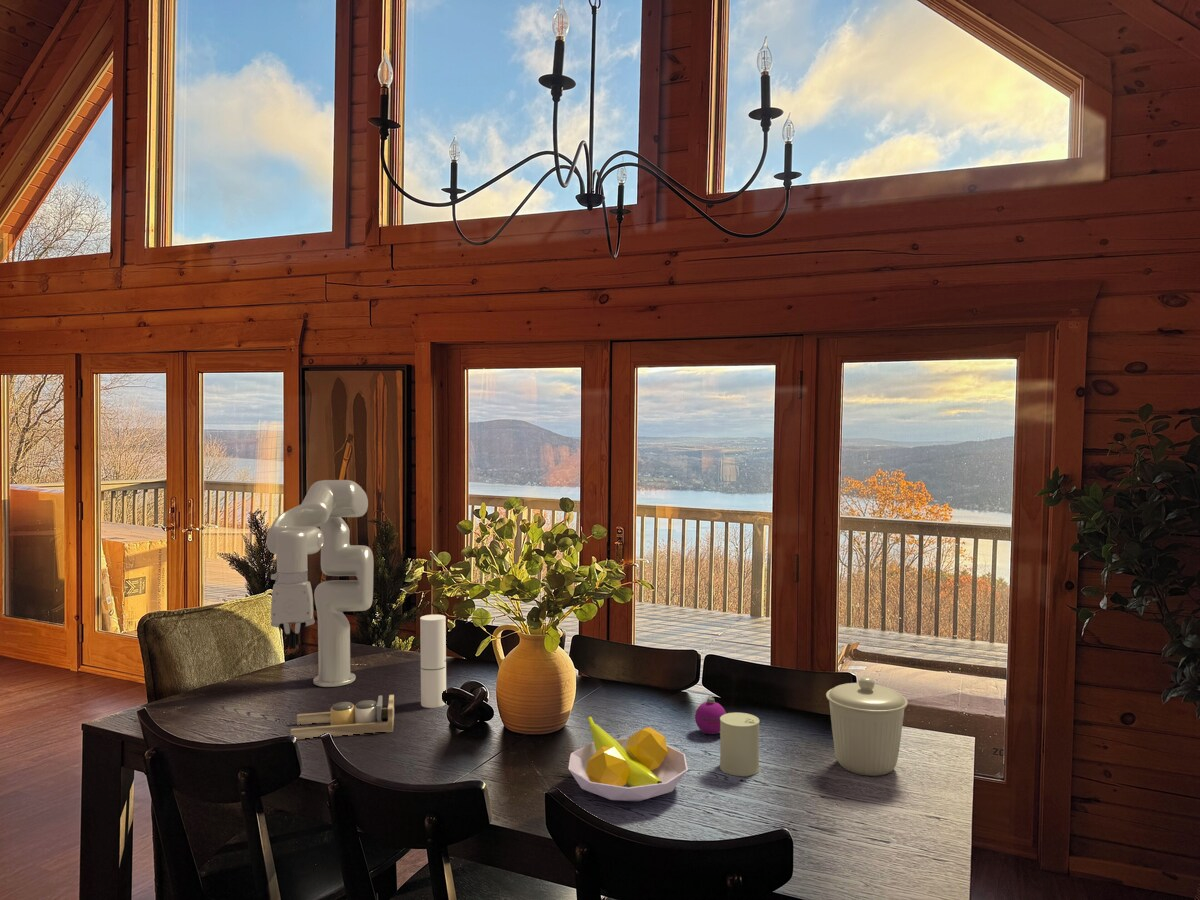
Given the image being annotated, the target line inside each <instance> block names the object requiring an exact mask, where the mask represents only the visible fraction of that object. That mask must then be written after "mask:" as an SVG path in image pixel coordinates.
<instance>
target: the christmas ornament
mask: <svg viewBox="0 0 1200 900" xmlns="http://www.w3.org/2000/svg"><path fill="white" fill-rule="evenodd" d="M706 699H707V700H706V702H705V701H704V702H702V703H701V704H700V705H699V706H698V707H697V709H696V711H695V715H694V720H695V721H694V722H695V723H696V725H697V727H698V729H699V730H700V731H701V732H702V733H704V734H708V735H716V734H720V717H721V716H722V715H724V714H727V711H726V710H725V708H724V707H723V706H722V705H721V704H720V703H719V702H716V701H715V698H714V695H712V694H710V695H708V698H706Z"/></svg>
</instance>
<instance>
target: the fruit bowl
mask: <svg viewBox="0 0 1200 900" xmlns="http://www.w3.org/2000/svg"><path fill="white" fill-rule="evenodd" d="M587 721H588V723H589V725H590V726H589V729H590V732H591V733H590V734H591V737H592V742H590V743H589V744H586V745H585V746H582V747H581V748H578V749H577V750H576V749H575V751H573V752H571V753H570V756H569V762H568V770H569V772H570V773H571V775H572V777H573V778H574V780H575V781H576V782H577V784H578V785H579V787H580V788H581V789H582V790H585V791H587V792H589V793H592V794H595V795H598V796H600V797H602V798H605V799H608V800H610V801H623V802H641V801H644V800H648V799H651V798H655V797H659V796H661V795H665V794H669V793H672V792H673V791H674V789H676V787H677V786H678V784H679V783H680V782H681V780H682V779H683V778H684V776H685V774H686V773H687V772H688V770H689V769H688V764H687V759H686V758H687V757H686V754H685V753H683V752H682V751H679V750H678V749H675V748H673V747H672V746H669V745H667V741H666V740H667V739H666V736H664V735H663V734H662V733H660V732H658V731H657V730H655V729H654V728H652V727H651V726H648V727H645V728H641V729H639V730H638V731H636V732H635V733H633V734H631V735H630V736H629V737H625V738H617V739H616V738H614V737H613V736H611V735H610V734H609V733H608V732H607V731H605V730H604V729H603V728H602V727H601V726H600V725H598V724H597V723H595V722H594V720H593V717H592V716H589V717H587Z"/></svg>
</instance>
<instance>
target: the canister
mask: <svg viewBox="0 0 1200 900" xmlns="http://www.w3.org/2000/svg"><path fill="white" fill-rule="evenodd" d="M825 697H826V699H827V700H828V702H829V713H830V722H831V731H832V737H833V739H832V740H833V747H834V753H835V758H836V759H837V762H838V763H839V765H840V766H841V767H843V768H844V769H845V770H847V771H849V772H852V773H853V774H857V775H862V776H869V777H870V776H871V777H872V776H873V777H876V776H877V777H878V776H884V775H888V774H889V773H891V772H892V771H893V770H894V769H895V768H896V767H897V763H898V759H899V752H900V747H901V739H902V732H903V731H902V730H903V722H904V714H905V709H906V708H907V706H908V705H909V701H908V699H907V698H906V697H905V696H904V695H902V694H900V693H899V692H898V691H897V690H894V689H892V688H889V687H888V686H884V685H880V684H876V683H875V681H874V680H873V679H872V678H871V677H867V676H865V677H864V676H863V677H861V678H860V679H859V680H858V682H850V683H849V682H847V683H843V684H839V685H836V686H834V687H832V688H830V689H829V690H827V691H826V693H825Z"/></svg>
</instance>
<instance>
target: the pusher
mask: <svg viewBox="0 0 1200 900" xmlns="http://www.w3.org/2000/svg"><path fill="white" fill-rule="evenodd" d="M376 703H377V722H383V719H384V718H383V709H382V708H383V695H378V698H377V702H376Z"/></svg>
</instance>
